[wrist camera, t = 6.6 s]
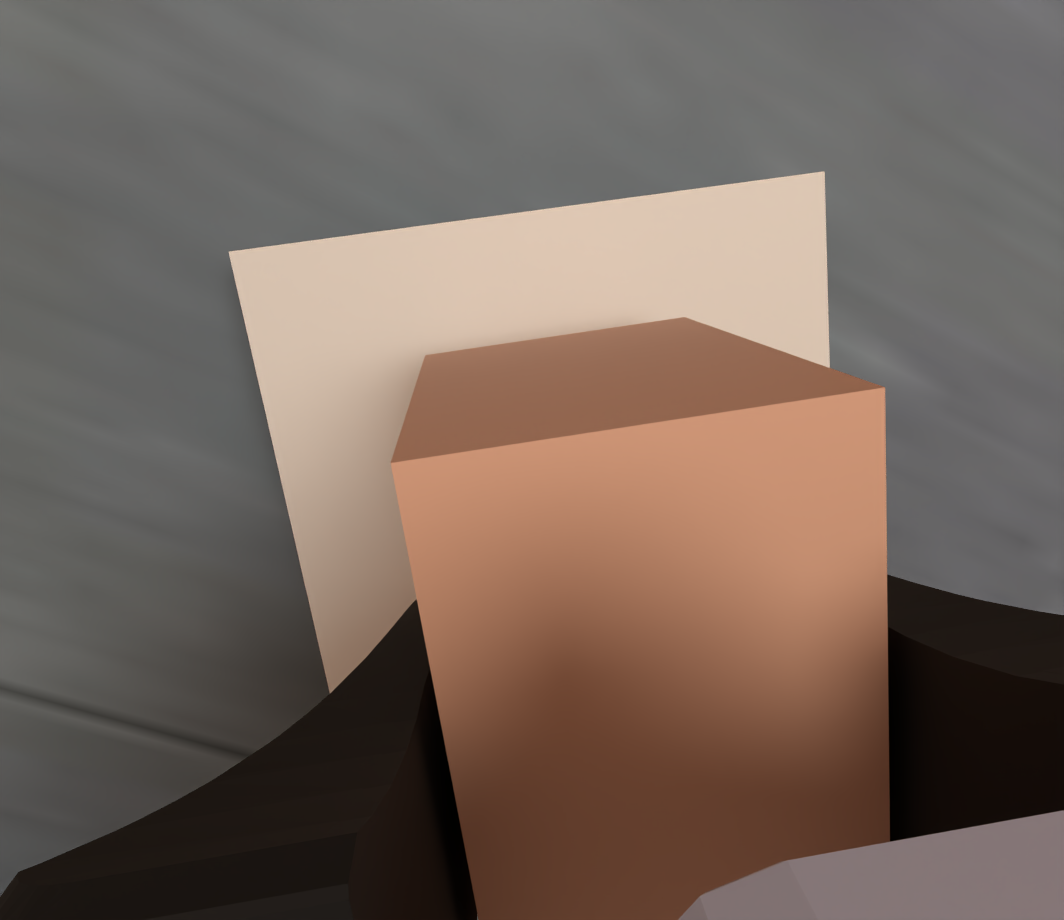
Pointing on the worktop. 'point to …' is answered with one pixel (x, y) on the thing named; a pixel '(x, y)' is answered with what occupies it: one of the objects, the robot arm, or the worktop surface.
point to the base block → (488, 343)
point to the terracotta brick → (649, 611)
